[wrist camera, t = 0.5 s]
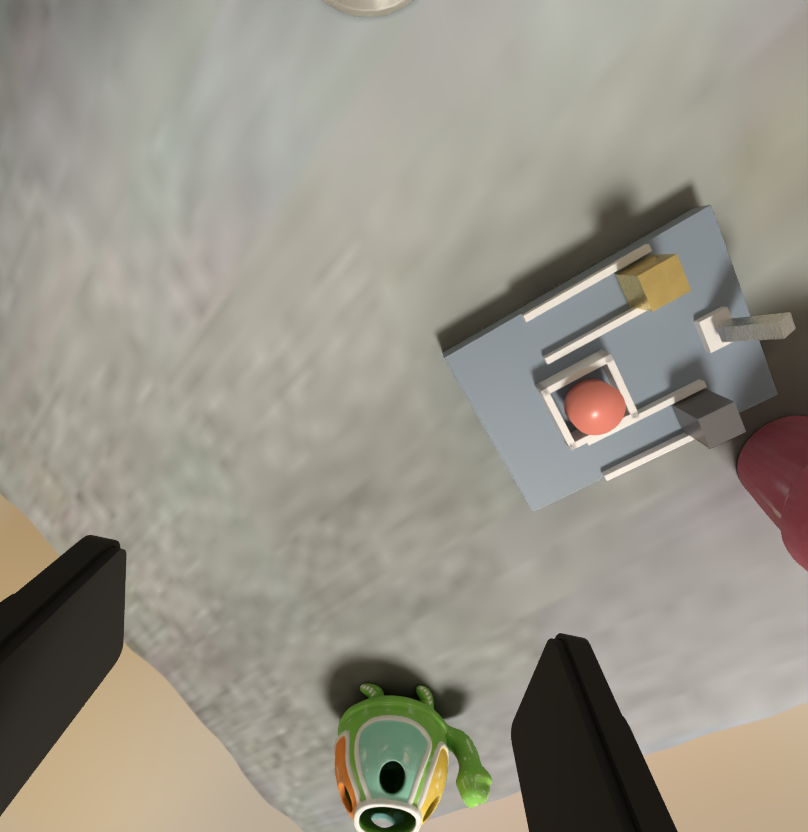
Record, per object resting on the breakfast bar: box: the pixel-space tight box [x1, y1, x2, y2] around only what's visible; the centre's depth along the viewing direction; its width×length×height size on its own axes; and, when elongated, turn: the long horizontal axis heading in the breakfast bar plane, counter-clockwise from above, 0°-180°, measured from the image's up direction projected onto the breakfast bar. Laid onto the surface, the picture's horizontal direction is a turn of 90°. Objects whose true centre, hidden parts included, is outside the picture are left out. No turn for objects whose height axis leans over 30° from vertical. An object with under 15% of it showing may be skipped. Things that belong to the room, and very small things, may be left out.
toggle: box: [717, 312, 796, 342], centre depth 35 cm, size 1×1×5 cm
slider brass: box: [615, 254, 691, 312], centre depth 35 cm, size 3×3×4 cm
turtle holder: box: [334, 683, 492, 832], centre depth 52 cm, size 12×18×12 cm
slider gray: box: [672, 388, 746, 449], centre depth 39 cm, size 3×3×4 cm
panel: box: [443, 205, 778, 512], centre depth 40 cm, size 18×24×4 cm
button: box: [564, 379, 626, 435], centre depth 38 cm, size 4×4×2 cm
